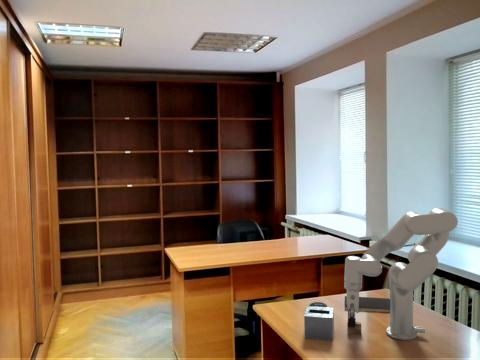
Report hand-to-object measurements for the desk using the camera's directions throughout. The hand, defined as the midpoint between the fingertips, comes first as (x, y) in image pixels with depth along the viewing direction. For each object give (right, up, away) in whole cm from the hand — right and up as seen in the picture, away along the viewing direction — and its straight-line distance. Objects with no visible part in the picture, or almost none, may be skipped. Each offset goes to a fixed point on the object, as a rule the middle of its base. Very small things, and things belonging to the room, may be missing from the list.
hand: (351, 322), depth 189 cm
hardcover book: (+17, -3, +33) cm, 37 cm away
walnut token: (+1, -5, 0) cm, 5 cm away
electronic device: (-10, -4, +27) cm, 29 cm away
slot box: (-14, -5, +1) cm, 15 cm away
